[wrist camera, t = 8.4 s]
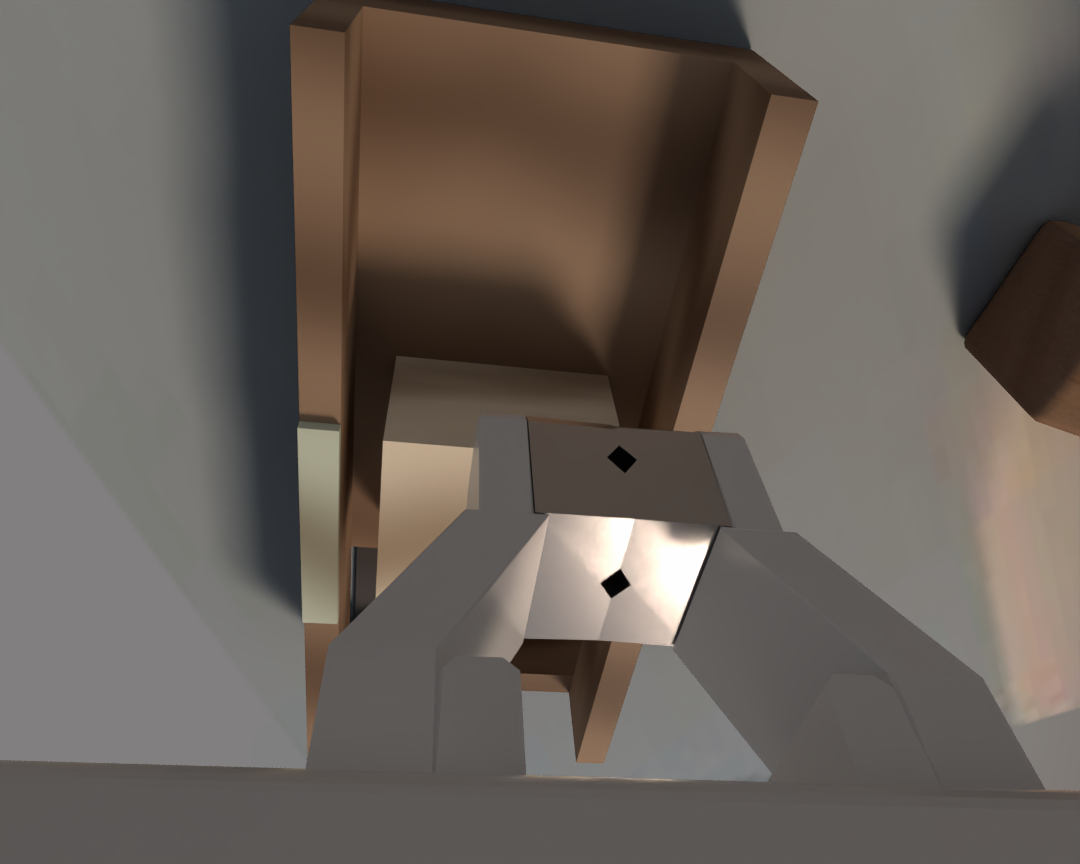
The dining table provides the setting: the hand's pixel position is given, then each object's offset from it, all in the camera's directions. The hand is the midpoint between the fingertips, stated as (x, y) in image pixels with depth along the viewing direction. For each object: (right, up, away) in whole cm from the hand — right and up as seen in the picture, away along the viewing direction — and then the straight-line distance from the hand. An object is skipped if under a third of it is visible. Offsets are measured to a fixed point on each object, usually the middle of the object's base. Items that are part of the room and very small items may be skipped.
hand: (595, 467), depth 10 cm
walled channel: (-2, +1, +17) cm, 17 cm away
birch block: (-2, 0, +16) cm, 16 cm away
